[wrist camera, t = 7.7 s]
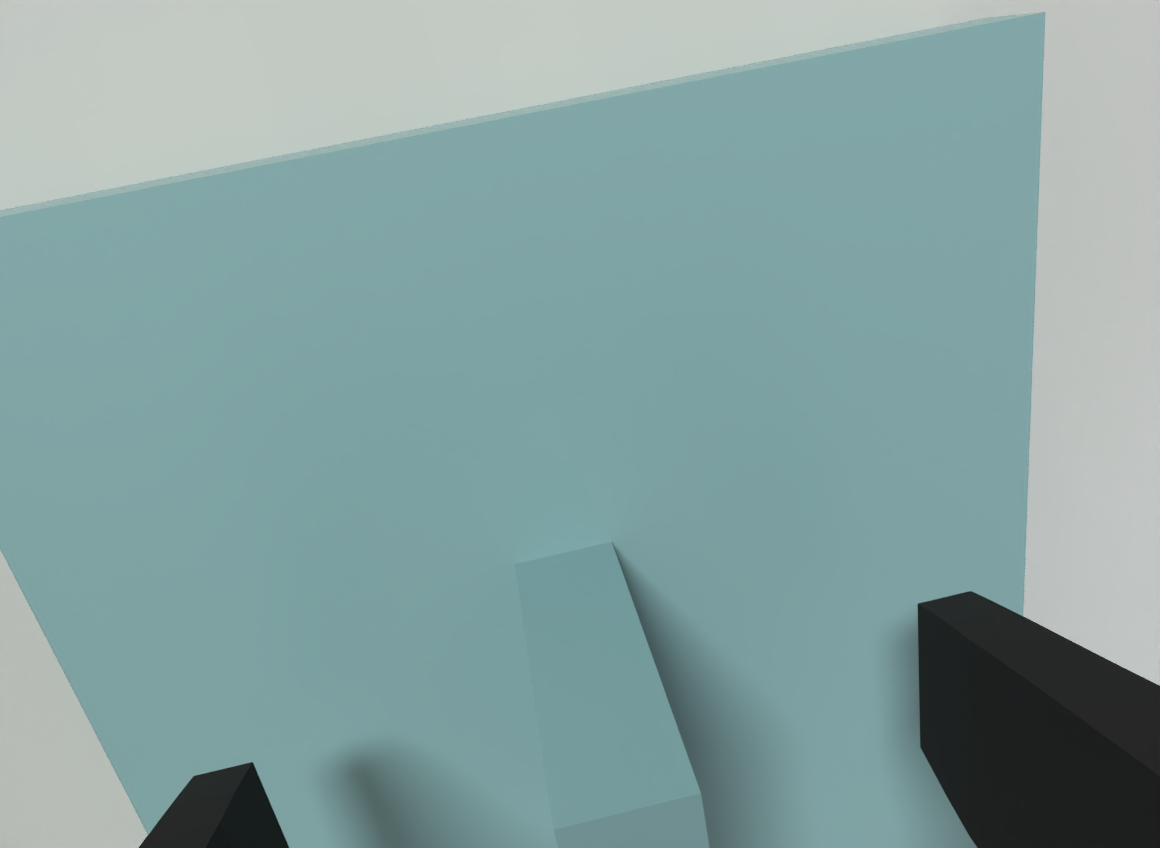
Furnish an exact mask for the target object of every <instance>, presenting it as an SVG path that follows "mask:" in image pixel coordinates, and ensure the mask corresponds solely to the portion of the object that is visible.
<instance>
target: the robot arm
mask: <svg viewBox="0 0 1160 848" xmlns="http://www.w3.org/2000/svg"><path fill="white" fill-rule="evenodd" d="M918 655H919V708H920V748H921V749H922V751H923V753H924V755H925V757H926V759H927V761H928V762H929V764H930V766H931V768H932V770H933V772H934V774H935V776H936V777H937V779H938V781H939V783H940V785H941V787H942V789H943V791H944V792H945V794H946V796H947V798H948V800H949V801H950V803H951V805H952V807H953V808H954V810H955V812H956V814H957V815H958V817H959V819H960V821H961V822H962V824H963V826H964V828H965V829H966V831H967V833H968V835H969V836H970V838H971V839H972V841H973V842H974V843H975V845H976V846H977V848H1160V686H1159V685H1157V684H1155V683H1153V682H1151V681H1149V680H1147V679H1145V678H1143V677H1141V676H1139V675H1137V674H1135V673H1133V672H1131V671H1129V670H1127V669H1125V668H1123V667H1121V666H1119V665H1117V664H1115V663H1113V662H1111V661H1109V660H1107V659H1105V658H1103V657H1101V656H1099V655H1097V654H1095V653H1093V652H1091V651H1089V650H1087V649H1085V648H1083V647H1082V646H1080V645H1078V644H1076V643H1074V642H1072V641H1070V640H1068V639H1066V638H1064V637H1062V636H1060V635H1058V634H1056V633H1054V632H1052V631H1050V630H1048V629H1047V628H1045V627H1043V626H1041V625H1039V624H1037V623H1035V622H1033V621H1031V620H1029V619H1027V618H1025V617H1023V616H1021V615H1019V614H1017V613H1015V612H1013V611H1011V610H1009V609H1007V608H1005V607H1003V606H1001V605H999V604H997V603H995V602H993V601H991V600H989V599H987V598H985V597H983V596H981V595H979V594H976V593H974V592H972V591H969V592H964V593H960V594H956V595H952V596H948V597H943V598H939V599H935V600H931V601H927V602H922V603H918ZM139 848H289V846H288V844H287V841H286V839H285V836H284V834H283V832H282V829H281V827H280V825H279V822H278V820H277V818H276V815H275V813H274V811H273V808H272V806H271V804H270V801H269V799H268V797H267V794H266V792H265V790H264V787H263V785H262V782H261V780H260V778H259V775H258V773H257V771H256V768H255V766H254V764H253V762H250V763H246V764H242V765H238V766H234V767H229V768H225V769H221V770H217V771H213V772H208V773H204V774H200V775H196V776H193V777H192V779H191V780H190V781H189V782H188V784H187V785H186V786H185V787H184V789H183V790H182V791H181V792H180V794H179V795H178V796H177V798H176V799H175V800H174V801H173V803H172V804H171V805H170V807H169V808H168V809H167V811H166V812H165V813H164V815H163V816H162V817H161V819H160V820H159V821H158V823H157V824H156V825H155V827H154V828H153V829H152V831H151V832H150V833H149V835H148V836H147V837H146V839H145V840H144V841H143V843H142V844H141V845H140V847H139Z"/></svg>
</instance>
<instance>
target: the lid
mask: <svg viewBox="0 0 1160 848" xmlns="http://www.w3.org/2000/svg"><path fill="white" fill-rule="evenodd" d="M1044 32H1045V12H1042V13H1031V14H1020V15H1010V16H999V17H989V18H983V19H978V20H973V21H968V22H963V23H958V24H953V25H948V26H943V27H937V28H932V29H927V30H922V31H917V32H912V33H907V34H902V35H896V36H891V37H886V38H881V39H876V40H871V41H866V42H861V43H855V44H850V45H845V46H840V47H835V48H830V49H825V50H820V51H815V52H809V53H804V54H799V55H794V56H789V57H784V58H779V59H774V60H768V61H763V62H758V63H753V64H748V65H743V66H738V67H733V68H727V69H722V70H717V71H712V72H707V73H702V74H697V75H692V76H687V77H681V78H676V79H671V80H666V81H661V82H656V83H651V84H646V85H640V86H635V87H630V88H625V89H620V90H615V91H610V92H605V93H599V94H594V95H589V96H584V97H579V98H574V99H569V100H564V101H559V102H553V103H548V104H543V105H538V106H533V107H528V108H523V109H518V110H512V111H507V112H502V113H497V114H492V115H487V116H482V117H477V118H471V119H466V120H461V121H456V122H451V123H446V124H441V125H436V126H431V127H425V128H420V129H415V130H410V131H405V132H400V133H395V134H390V135H384V136H379V137H374V138H369V139H364V140H359V141H354V142H349V143H343V144H338V145H333V146H328V147H323V148H318V149H313V150H308V151H303V152H297V153H292V154H287V155H282V156H277V157H272V158H267V159H262V160H256V161H251V162H246V163H241V164H236V165H231V166H226V167H221V168H215V169H210V170H205V171H200V172H195V173H190V174H185V175H180V176H175V177H169V178H164V179H159V180H154V181H149V182H144V183H139V184H134V185H128V186H123V187H118V188H113V189H108V190H103V191H98V192H93V193H87V194H82V195H77V196H72V197H67V198H62V199H57V200H52V201H47V202H41V203H36V204H31V205H26V206H21V207H16V208H11V209H6V210H0V549H1V551H2V553H3V555H4V557H5V559H6V561H7V563H8V565H9V567H10V569H11V571H12V573H13V575H14V577H15V578H16V580H17V582H18V584H19V586H20V588H21V590H22V592H23V594H24V596H25V598H26V600H27V602H28V604H29V606H30V607H31V609H32V611H33V613H34V615H35V617H36V619H37V621H38V623H39V625H40V627H41V629H42V631H43V633H44V635H45V636H46V638H47V640H48V642H49V644H50V646H51V648H52V650H53V652H54V654H55V656H56V658H57V660H58V662H59V664H60V665H61V667H62V669H63V671H64V673H65V675H66V677H67V679H68V681H69V683H70V685H71V687H72V689H73V691H74V693H75V694H76V696H77V698H78V700H79V702H80V704H81V706H82V708H83V710H84V712H85V714H86V716H87V718H88V720H89V722H90V723H91V725H92V727H93V729H94V731H95V733H96V735H97V737H98V739H99V741H100V743H101V745H102V747H103V749H104V751H105V752H106V754H107V756H108V758H109V760H110V762H111V764H112V766H113V768H114V770H115V772H116V774H117V776H118V778H119V780H120V781H121V783H122V785H123V787H124V789H125V791H126V793H127V795H128V797H129V799H130V801H131V803H132V805H133V807H134V809H135V810H136V812H137V814H138V816H139V818H140V820H141V822H142V824H143V826H144V828H145V830H146V832H147V834H148V835H149V833H150V832H151V831H152V829H153V828H154V827H155V825H156V824H157V823H158V821H159V820H160V819H161V817H162V816H163V815H164V813H165V812H166V811H167V809H168V808H169V807H170V805H171V804H172V803H173V801H174V800H175V799H176V798H177V796H178V795H179V794H180V792H181V791H182V790H183V789H184V787H185V786H186V785H187V784H188V782H189V781H190V780H191V779H192V777H193V776H196V775H200V774H204V773H208V772H213V771H217V770H221V769H225V768H229V767H234V766H238V765H242V764H246V763H250V762H253V764H254V766H255V768H256V771H257V773H258V775H259V778H260V780H261V782H262V785H263V787H264V790H265V792H266V794H267V797H268V799H269V801H270V804H271V806H272V808H273V811H274V813H275V815H276V818H277V820H278V822H279V825H280V827H281V829H282V832H283V834H284V836H285V839H286V841H287V844H288V846H289V848H977V846H976V845H975V843H974V842H973V841H972V839H971V838H970V836H969V835H968V833H967V831H966V829H965V828H964V826H963V824H962V822H961V821H960V819H959V817H958V815H957V814H956V812H955V810H954V808H953V807H952V805H951V803H950V801H949V800H948V798H947V796H946V794H945V792H944V791H943V789H942V787H941V785H940V783H939V781H938V779H937V777H936V776H935V774H934V772H933V770H932V768H931V766H930V764H929V762H928V761H927V759H926V757H925V755H924V753H923V751H922V749H921V748H920V708H919V655H918V603H922V602H927V601H931V600H935V599H939V598H943V597H948V596H952V595H956V594H960V593H964V592H969V591H972V592H974V593H976V594H979V595H981V596H983V597H985V598H987V599H989V600H991V601H993V602H995V603H997V604H999V605H1001V606H1003V607H1005V608H1007V609H1009V610H1011V611H1013V612H1015V613H1017V614H1019V615H1021V616H1023V603H1024V576H1025V548H1026V521H1027V494H1028V467H1029V440H1030V413H1031V385H1032V358H1033V331H1034V304H1035V277H1036V250H1037V222H1038V195H1039V168H1040V141H1041V114H1042V87H1043V60H1044Z"/></svg>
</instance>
